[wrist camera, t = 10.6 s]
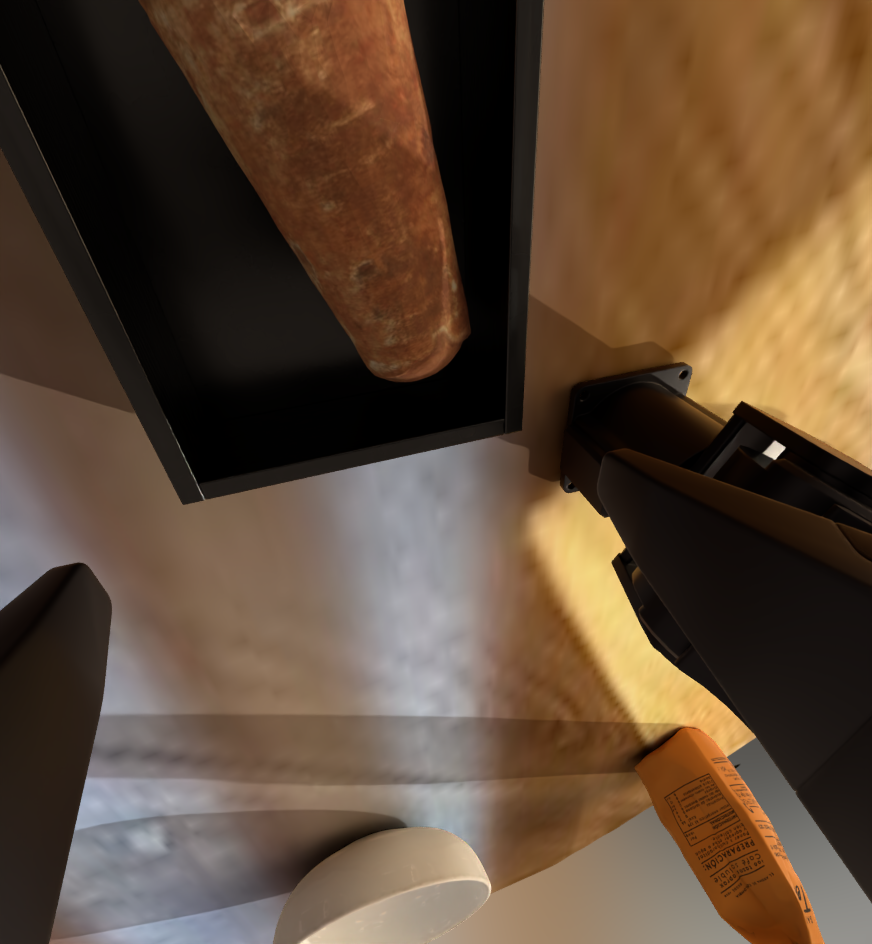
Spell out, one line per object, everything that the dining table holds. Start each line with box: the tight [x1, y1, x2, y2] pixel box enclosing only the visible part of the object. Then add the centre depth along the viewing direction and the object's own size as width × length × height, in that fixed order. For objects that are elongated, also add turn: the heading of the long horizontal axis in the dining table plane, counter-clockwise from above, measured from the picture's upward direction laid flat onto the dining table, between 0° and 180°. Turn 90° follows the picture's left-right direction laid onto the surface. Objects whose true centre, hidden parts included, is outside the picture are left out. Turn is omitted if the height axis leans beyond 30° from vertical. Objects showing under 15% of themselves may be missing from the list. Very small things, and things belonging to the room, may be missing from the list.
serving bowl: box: [273, 827, 491, 944], centre depth 47 cm, size 21×21×7 cm
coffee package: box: [635, 727, 825, 944], centre depth 50 cm, size 10×12×22 cm
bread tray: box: [0, 0, 544, 505], centre depth 11 cm, size 12×23×5 cm, turn 4°
